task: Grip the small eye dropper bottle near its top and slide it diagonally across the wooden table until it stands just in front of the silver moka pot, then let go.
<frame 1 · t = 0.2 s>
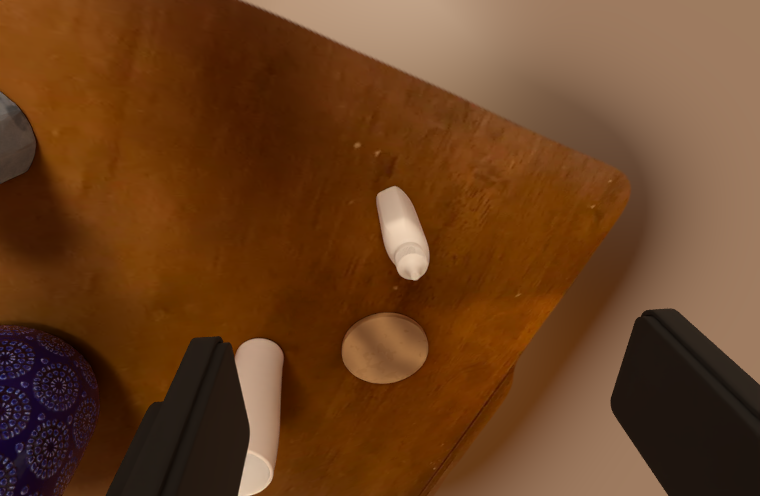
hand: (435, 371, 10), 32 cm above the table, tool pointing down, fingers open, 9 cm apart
cork trivet: (384, 347, 52), on the table
drinking glass: (261, 352, 51), on the table
eye dropper bottle: (396, 210, 44), on the table
planter: (34, 367, 50), on the table
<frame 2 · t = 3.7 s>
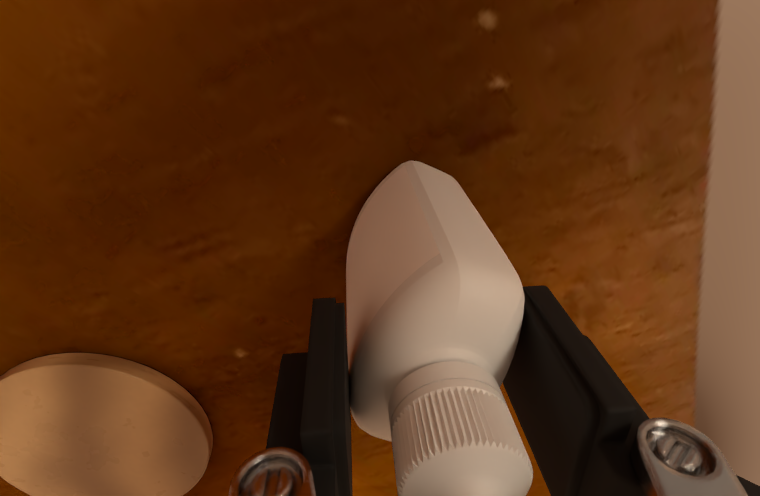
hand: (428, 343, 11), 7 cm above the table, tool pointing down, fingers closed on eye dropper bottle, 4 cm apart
cork trivet: (103, 433, 21), on the table
eye dropper bottle: (398, 226, 17), on the table, touching gripper
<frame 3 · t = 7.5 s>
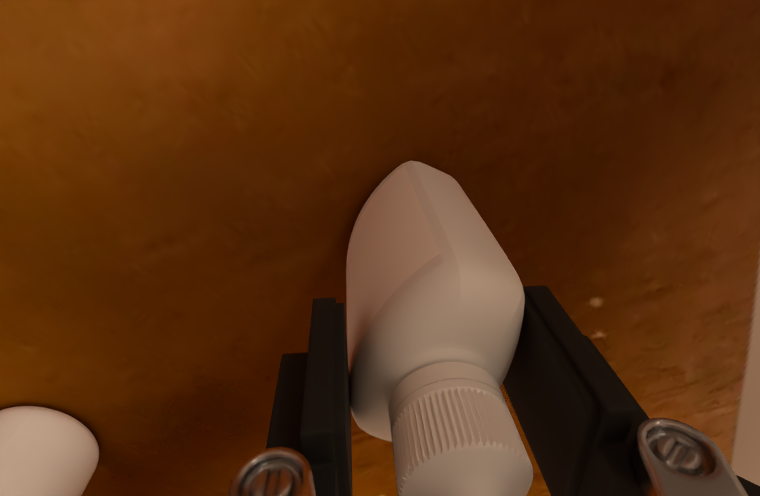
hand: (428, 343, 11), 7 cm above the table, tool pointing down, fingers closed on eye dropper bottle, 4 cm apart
drinking glass: (46, 436, 21), on the table
eye dropper bottle: (398, 226, 17), on the table, touching gripper
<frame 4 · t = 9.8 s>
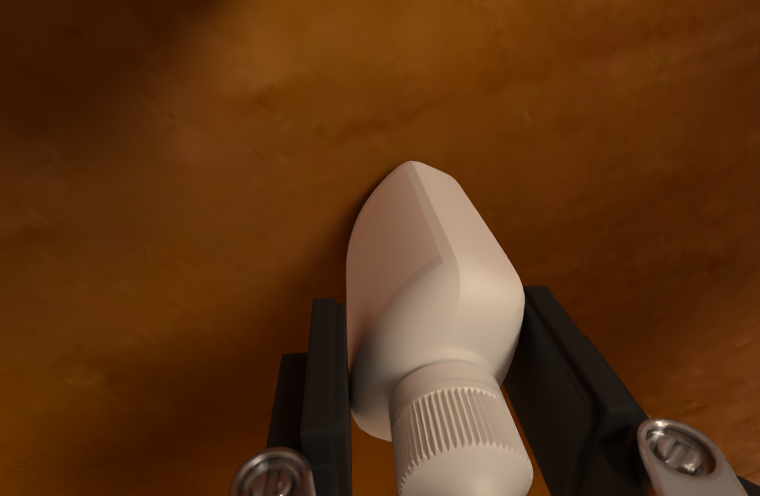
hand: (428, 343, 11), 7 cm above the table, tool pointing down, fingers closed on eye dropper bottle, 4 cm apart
eye dropper bottle: (398, 226, 17), on the table, touching gripper
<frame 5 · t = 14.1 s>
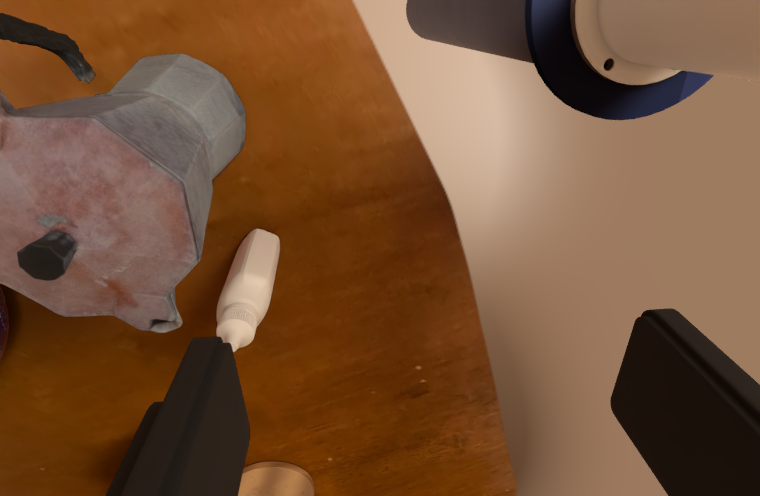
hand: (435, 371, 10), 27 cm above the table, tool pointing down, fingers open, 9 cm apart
cork trivet: (271, 489, 52), on the table
moka pot: (180, 114, 33), on the table
eye dropper bottle: (257, 255, 39), on the table
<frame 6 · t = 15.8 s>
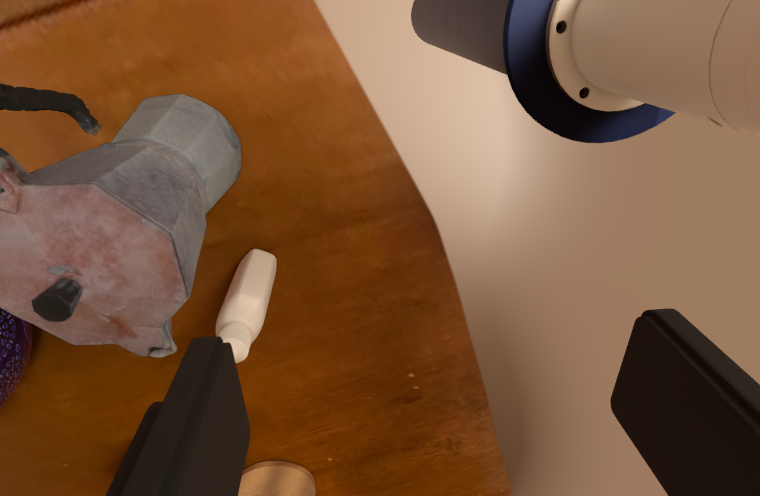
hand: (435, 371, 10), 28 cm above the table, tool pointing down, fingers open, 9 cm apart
cork trivet: (275, 486, 56), on the table
moka pot: (181, 147, 36), on the table
eye dropper bottle: (256, 272, 41), on the table
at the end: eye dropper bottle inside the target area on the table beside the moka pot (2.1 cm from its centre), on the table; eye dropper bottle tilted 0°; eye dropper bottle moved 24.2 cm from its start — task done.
